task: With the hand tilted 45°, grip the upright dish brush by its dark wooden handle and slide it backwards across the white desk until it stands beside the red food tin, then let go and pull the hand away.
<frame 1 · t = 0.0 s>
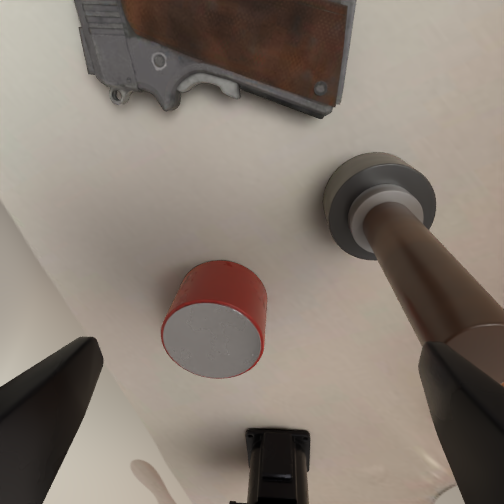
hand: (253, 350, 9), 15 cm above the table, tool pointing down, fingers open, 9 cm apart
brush: (369, 198, 22), on the table
tin: (223, 298, 27), on the table
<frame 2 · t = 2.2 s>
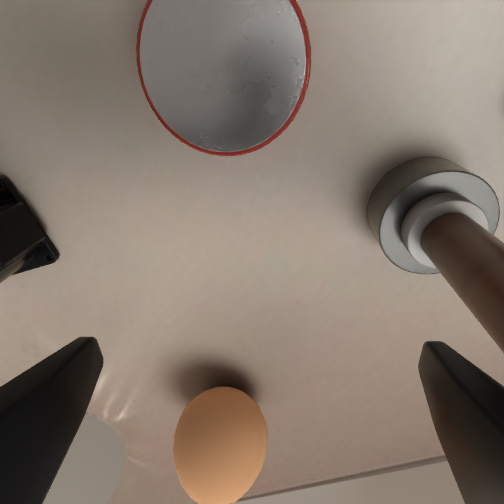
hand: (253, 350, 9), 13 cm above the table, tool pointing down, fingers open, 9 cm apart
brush: (417, 206, 20), on the table
tin: (237, 68, 18), on the table
egg: (229, 393, 30), on the table
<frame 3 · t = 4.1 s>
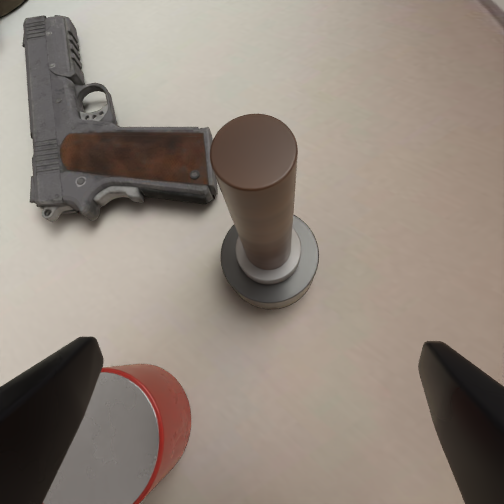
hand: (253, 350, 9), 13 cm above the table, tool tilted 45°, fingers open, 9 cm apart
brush: (270, 265, 23), on the table
tin: (137, 422, 21), on the table
handgun: (120, 113, 28), on the table
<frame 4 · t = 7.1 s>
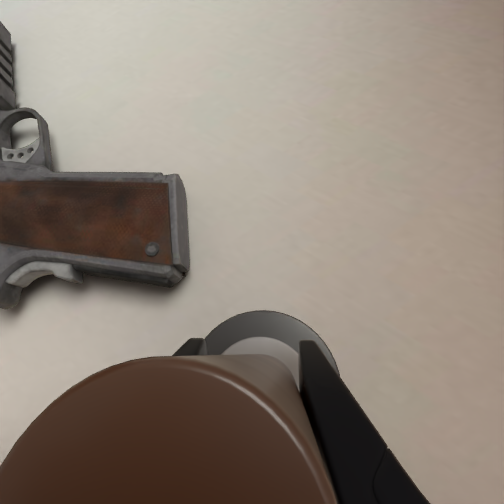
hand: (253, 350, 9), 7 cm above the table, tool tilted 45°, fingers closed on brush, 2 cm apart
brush: (266, 382, 15), on the table, touching gripper
handgun: (63, 147, 21), on the table
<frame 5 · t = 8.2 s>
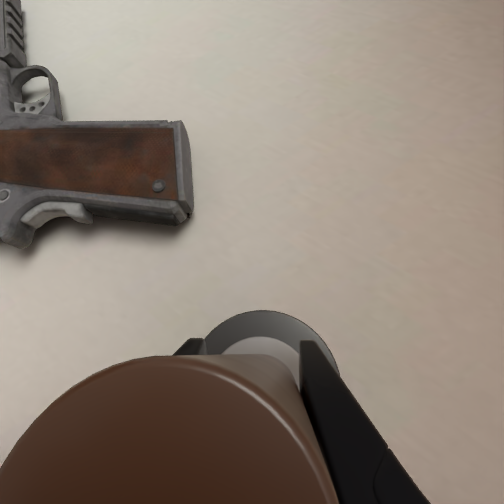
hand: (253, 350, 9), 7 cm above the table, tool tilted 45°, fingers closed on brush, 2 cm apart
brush: (266, 382, 15), on the table, touching gripper
handgun: (71, 105, 22), on the table
when the fingers open (7 cm above the table, at t = 9.7 s): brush stays where it is, on the table.
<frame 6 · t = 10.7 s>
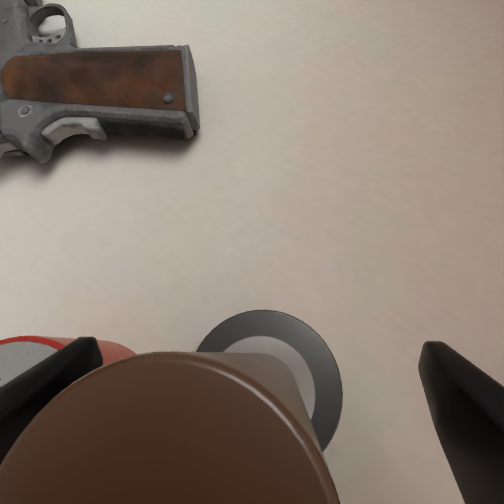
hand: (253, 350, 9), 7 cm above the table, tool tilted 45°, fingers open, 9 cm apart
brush: (266, 382, 15), on the table
tin: (89, 416, 16), on the table
handgun: (84, 44, 23), on the table
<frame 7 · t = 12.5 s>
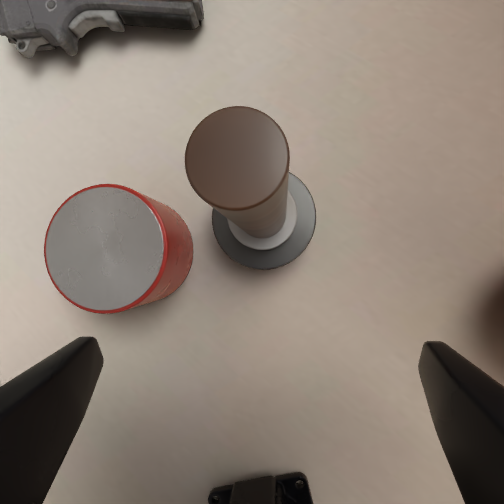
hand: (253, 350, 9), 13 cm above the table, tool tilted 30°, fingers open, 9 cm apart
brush: (265, 223, 22), on the table
tin: (143, 251, 23), on the table
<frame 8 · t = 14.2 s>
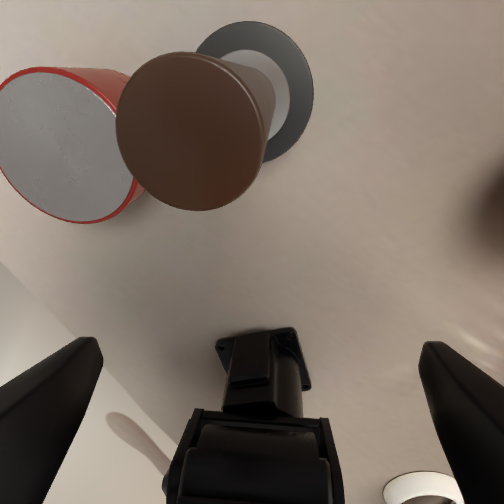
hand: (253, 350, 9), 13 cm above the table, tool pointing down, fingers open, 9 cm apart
hook: (420, 490, 34), on the table
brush: (253, 95, 18), on the table
tin: (112, 136, 20), on the table
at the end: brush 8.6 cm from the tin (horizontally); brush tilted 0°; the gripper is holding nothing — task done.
